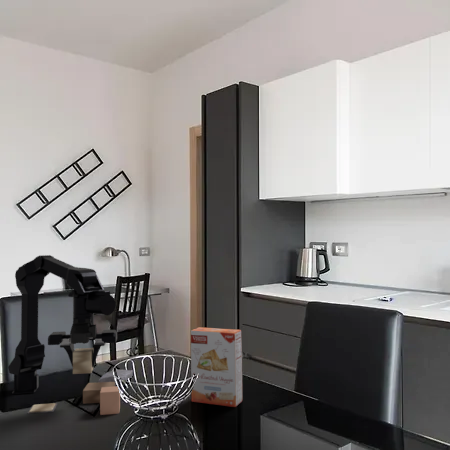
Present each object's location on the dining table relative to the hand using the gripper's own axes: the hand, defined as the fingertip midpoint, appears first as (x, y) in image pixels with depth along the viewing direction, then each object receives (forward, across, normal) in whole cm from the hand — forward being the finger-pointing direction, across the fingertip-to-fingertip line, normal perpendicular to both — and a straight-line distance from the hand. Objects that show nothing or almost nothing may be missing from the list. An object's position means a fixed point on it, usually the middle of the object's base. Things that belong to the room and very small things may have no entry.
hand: (83, 367), depth 138 cm
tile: (+11, -11, -1) cm, 15 cm away
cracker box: (+11, +38, -4) cm, 40 cm away
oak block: (+1, 0, 0) cm, 1 cm away
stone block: (+11, +7, +21) cm, 25 cm away
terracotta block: (+11, +8, -6) cm, 15 cm away
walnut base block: (+11, +4, +6) cm, 13 cm away
